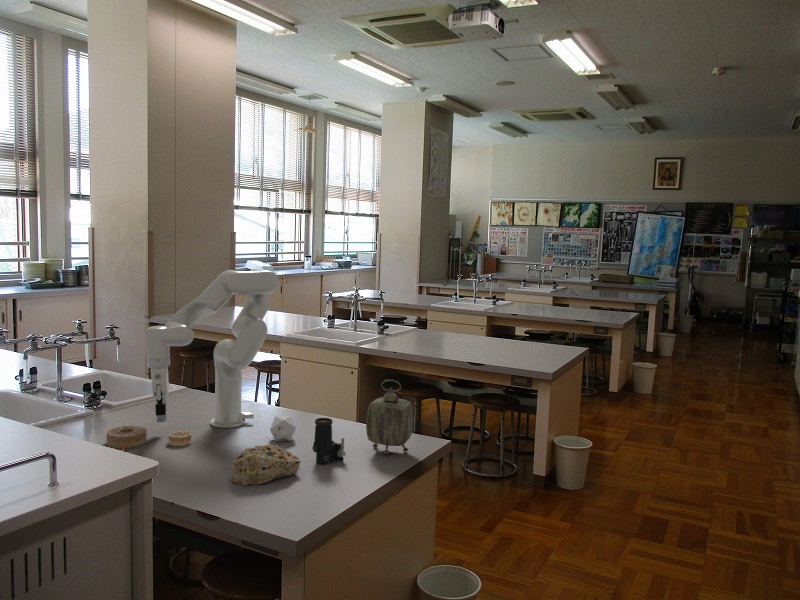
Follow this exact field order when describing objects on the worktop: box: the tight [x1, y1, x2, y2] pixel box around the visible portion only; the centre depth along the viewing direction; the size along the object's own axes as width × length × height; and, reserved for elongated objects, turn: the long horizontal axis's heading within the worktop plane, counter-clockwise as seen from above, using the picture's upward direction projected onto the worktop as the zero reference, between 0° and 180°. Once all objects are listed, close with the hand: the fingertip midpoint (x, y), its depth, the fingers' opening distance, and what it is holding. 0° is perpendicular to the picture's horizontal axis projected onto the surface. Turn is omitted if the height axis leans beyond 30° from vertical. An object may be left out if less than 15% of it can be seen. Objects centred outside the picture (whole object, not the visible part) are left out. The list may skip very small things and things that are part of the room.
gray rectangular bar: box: [156, 393, 167, 423], centre depth 224 cm, size 3×3×12 cm
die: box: [269, 415, 297, 442], centre depth 224 cm, size 8×9×10 cm
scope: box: [312, 417, 346, 466], centre depth 204 cm, size 8×14×10 cm
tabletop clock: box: [365, 378, 415, 456], centre depth 215 cm, size 14×9×25 cm, turn 74°
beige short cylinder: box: [168, 430, 192, 447], centre depth 217 cm, size 7×7×3 cm
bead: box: [106, 424, 148, 449], centre depth 215 cm, size 12×12×4 cm
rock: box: [231, 444, 302, 486], centre depth 191 cm, size 21×14×10 cm
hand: (161, 412), depth 225 cm, fingers closed on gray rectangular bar, 3 cm apart
